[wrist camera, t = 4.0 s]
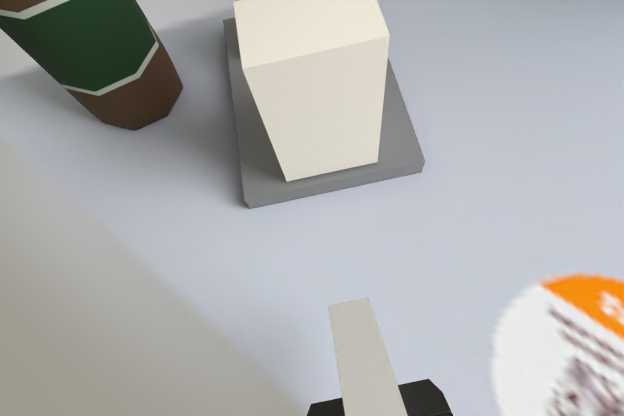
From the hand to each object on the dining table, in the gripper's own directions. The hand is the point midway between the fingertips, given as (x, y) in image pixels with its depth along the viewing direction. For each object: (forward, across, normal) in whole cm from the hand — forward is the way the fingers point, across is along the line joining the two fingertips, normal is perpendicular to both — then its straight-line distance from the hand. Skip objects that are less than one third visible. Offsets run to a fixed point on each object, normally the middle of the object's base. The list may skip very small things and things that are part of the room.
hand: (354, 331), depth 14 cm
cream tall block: (+13, +1, +4) cm, 14 cm away
